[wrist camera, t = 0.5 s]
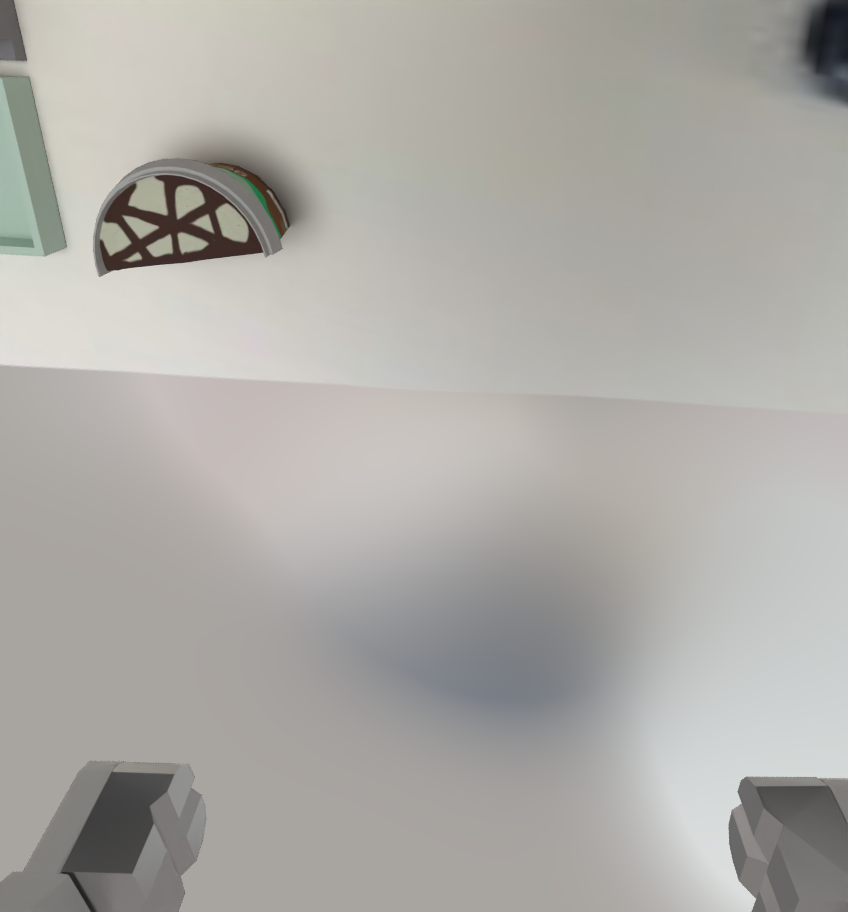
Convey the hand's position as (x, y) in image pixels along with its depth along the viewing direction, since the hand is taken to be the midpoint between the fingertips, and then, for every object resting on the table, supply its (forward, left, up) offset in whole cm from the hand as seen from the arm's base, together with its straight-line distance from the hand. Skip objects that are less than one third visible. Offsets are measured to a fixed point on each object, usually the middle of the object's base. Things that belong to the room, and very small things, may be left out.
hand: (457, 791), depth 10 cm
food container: (-1, -19, -46) cm, 49 cm away
